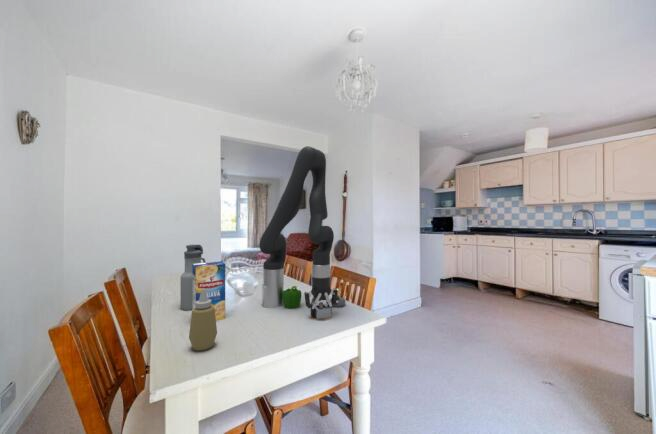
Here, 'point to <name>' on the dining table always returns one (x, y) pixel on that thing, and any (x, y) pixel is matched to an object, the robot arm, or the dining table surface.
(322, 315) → the grey small box
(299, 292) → the bell pepper
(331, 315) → the stand
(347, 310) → the dining table surface
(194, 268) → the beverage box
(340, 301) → the hub
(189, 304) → the water bottle
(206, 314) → the squeeze bottle
